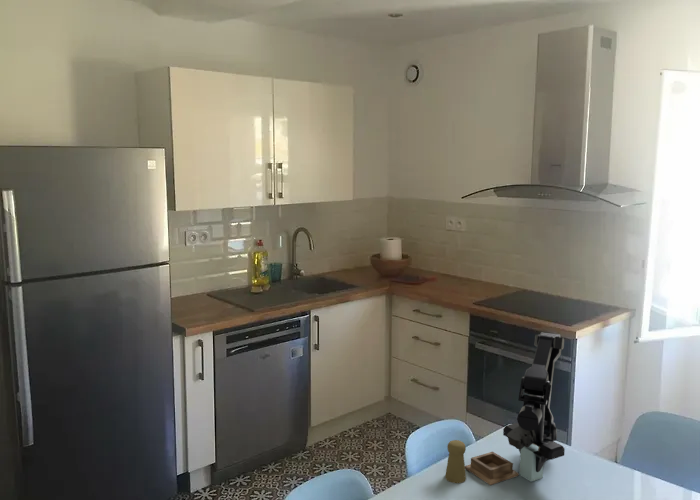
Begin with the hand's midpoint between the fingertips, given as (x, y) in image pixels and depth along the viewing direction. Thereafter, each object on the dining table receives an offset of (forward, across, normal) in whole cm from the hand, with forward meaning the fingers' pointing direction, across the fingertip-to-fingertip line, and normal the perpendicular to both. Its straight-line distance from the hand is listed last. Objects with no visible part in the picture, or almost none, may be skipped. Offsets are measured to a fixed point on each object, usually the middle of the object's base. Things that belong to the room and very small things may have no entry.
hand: (531, 468), depth 177 cm
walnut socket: (+2, -8, -8) cm, 12 cm away
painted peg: (+2, 0, 0) cm, 2 cm away
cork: (+3, -10, -20) cm, 23 cm away
